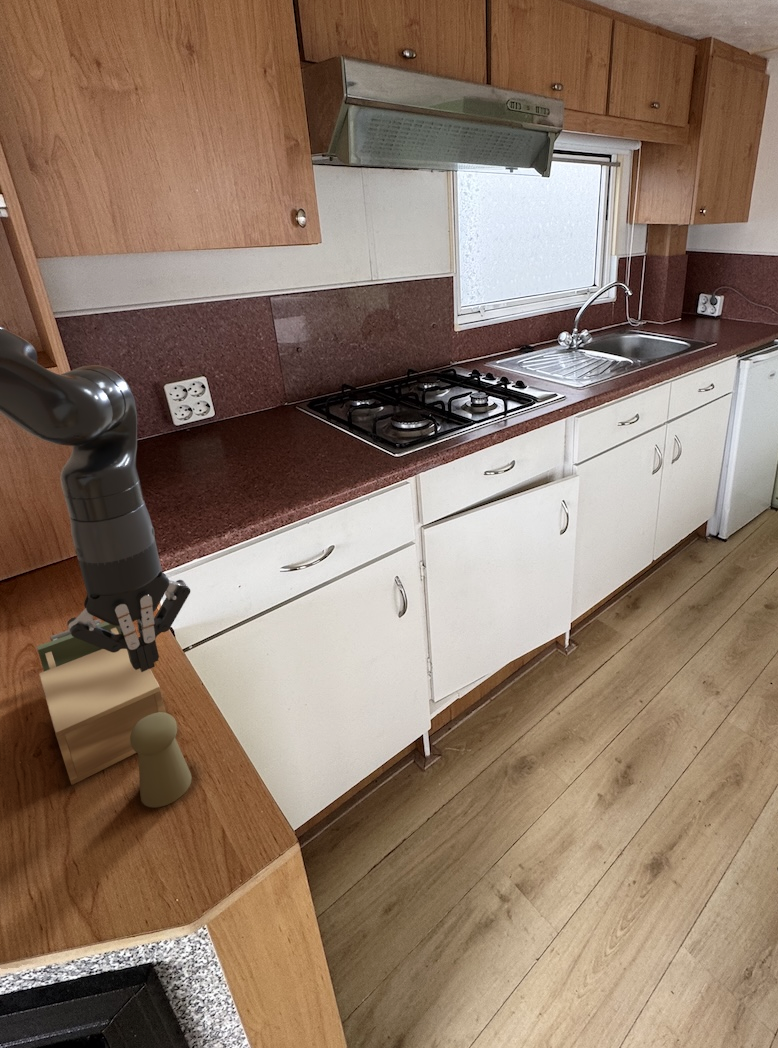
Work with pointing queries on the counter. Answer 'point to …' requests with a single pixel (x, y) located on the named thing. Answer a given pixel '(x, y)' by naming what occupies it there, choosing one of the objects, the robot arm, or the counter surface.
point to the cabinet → (98, 709)
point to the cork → (159, 760)
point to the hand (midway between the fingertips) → (146, 666)
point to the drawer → (69, 647)
